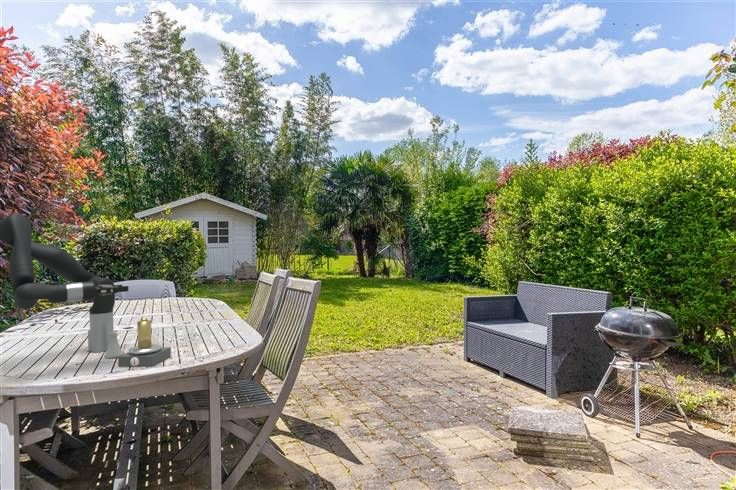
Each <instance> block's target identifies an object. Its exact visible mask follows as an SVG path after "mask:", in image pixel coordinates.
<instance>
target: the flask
mask: <svg viewBox="0 0 736 490" xmlns="http://www.w3.org/2000/svg"><path fill="white" fill-rule="evenodd" d="M109 335H110V341H109V345H108V347H107V350H106V351H105V352H104V353H105V354H104V359H115V358H118V356H120V355H123V354H124V353H123V351H122V348H121V346H120V343H119V342H118V335H119V333H118V332H114V333H110V334H109Z"/></svg>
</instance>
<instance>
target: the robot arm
mask: <svg viewBox="0 0 736 490" xmlns="http://www.w3.org/2000/svg"><path fill="white" fill-rule="evenodd" d="M0 241H1V242H2V243H4V244H6V245H8V246H10V247H11V248H12V250H11V253H10V257H9V261H8V270H9V275H10V280H11V283H12V295H13V301H14V304H15V306H16V307H17V308H19V309H22V310H30V309H32V308H34V307H35V306H36V305H37V304H38V303H39V300H43V301H44V300H47V303H50V304H57V303H59V304H60V303H75V302H87V301H93V303H92V305H91V306H90V307H89V313H88V314H89V330H87V345H88V346H87V347H88V352H92V353H101V352H106V350H107V347H108V345H109V341H110V335H109V334H110V333H115V332H114V331H115V330H114V329H115V328H114V307H115V302H116V301H115V300H116V294H119V293H123V292H129V286H127V285H123V284H116V285H115V282H113V280H112V279H110V278H108V277H99V276H96V275H94V274H92V273H90V272H89V271H87V270H86V269H85V268H84V267H82V265H81V264H80V263H79V261H78V260H77V259H76V258H75V257H74V256H73V255H71V254H70V253H69V252H67V251H65V250H64V249H62V248H61V247H59V246H56V245H51V244H44V243H40V242H35V241H33V240H32V225H31V222H30V220H29V219H28V218H27V217H26V216H24V215H23V214H20V213H17V212H14V213H11V214H8V215H6V216H5V217H3V218H2V219H0ZM33 259H34V260H35V261H37V262H38V263H40V264H42V265H43V266H44V267H46V268H47V269H49V270H51V272H53V273H55V274H57V275H59V276H60V277H62V278H64V279H66V280H68V281H69V282H70V283H63V284H47V283H39V282H38V283H37V282H36V281H35V279H36V276H35V275H36V274H35V270H34V265H33Z"/></svg>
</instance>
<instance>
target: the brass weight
mask: <svg viewBox="0 0 736 490" xmlns="http://www.w3.org/2000/svg"><path fill="white" fill-rule="evenodd" d="M152 343H153V341H152V320H150V319H148V318H147V317H146V318H145V317H143V318H140V320H138V321H137V346H138V349H149V348H151V347H152Z"/></svg>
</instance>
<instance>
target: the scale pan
mask: <svg viewBox="0 0 736 490" xmlns="http://www.w3.org/2000/svg"><path fill="white" fill-rule="evenodd" d="M161 347H162V345H161V344H158V343H157V344H156V343H153V344H152V347H151V348H149V349H138V345H136V346H133V347H132V346H131V348H130V347H129V348H128V352H129V353H130V354H146V353H152V352H156V351H159V350H161Z"/></svg>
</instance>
